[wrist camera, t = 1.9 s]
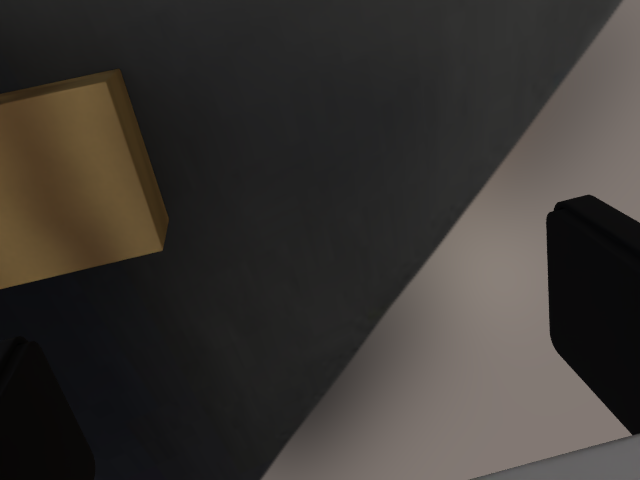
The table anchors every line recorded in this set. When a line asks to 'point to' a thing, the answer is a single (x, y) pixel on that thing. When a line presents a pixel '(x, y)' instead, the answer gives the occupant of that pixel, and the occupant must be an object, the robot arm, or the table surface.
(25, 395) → the robot arm
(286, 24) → the table surface
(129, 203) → the maple block
